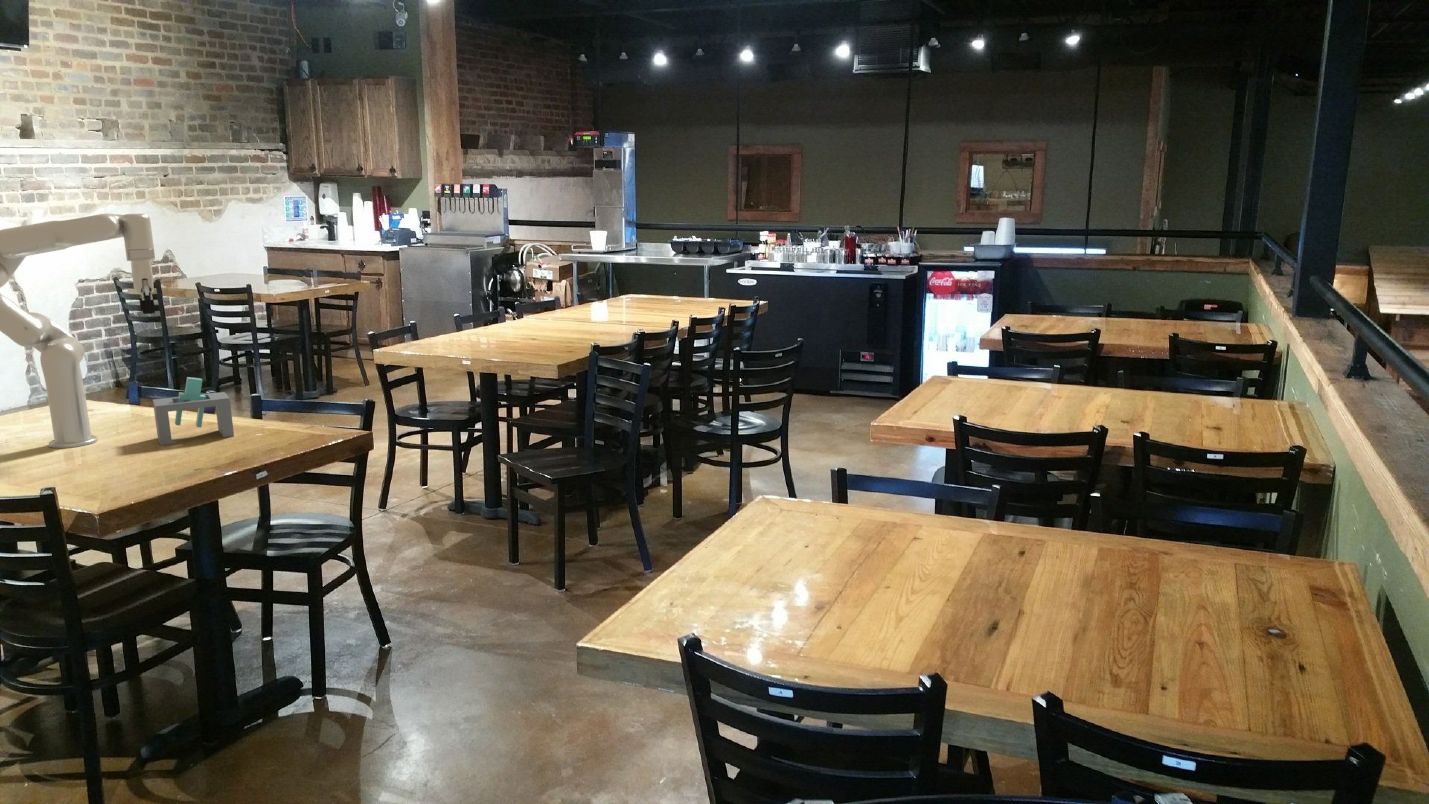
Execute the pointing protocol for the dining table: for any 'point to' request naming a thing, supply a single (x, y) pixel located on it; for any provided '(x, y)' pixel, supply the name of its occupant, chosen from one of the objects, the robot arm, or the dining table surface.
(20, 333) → the robot arm
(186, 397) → the teal arch frame
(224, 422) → the grey table arch
